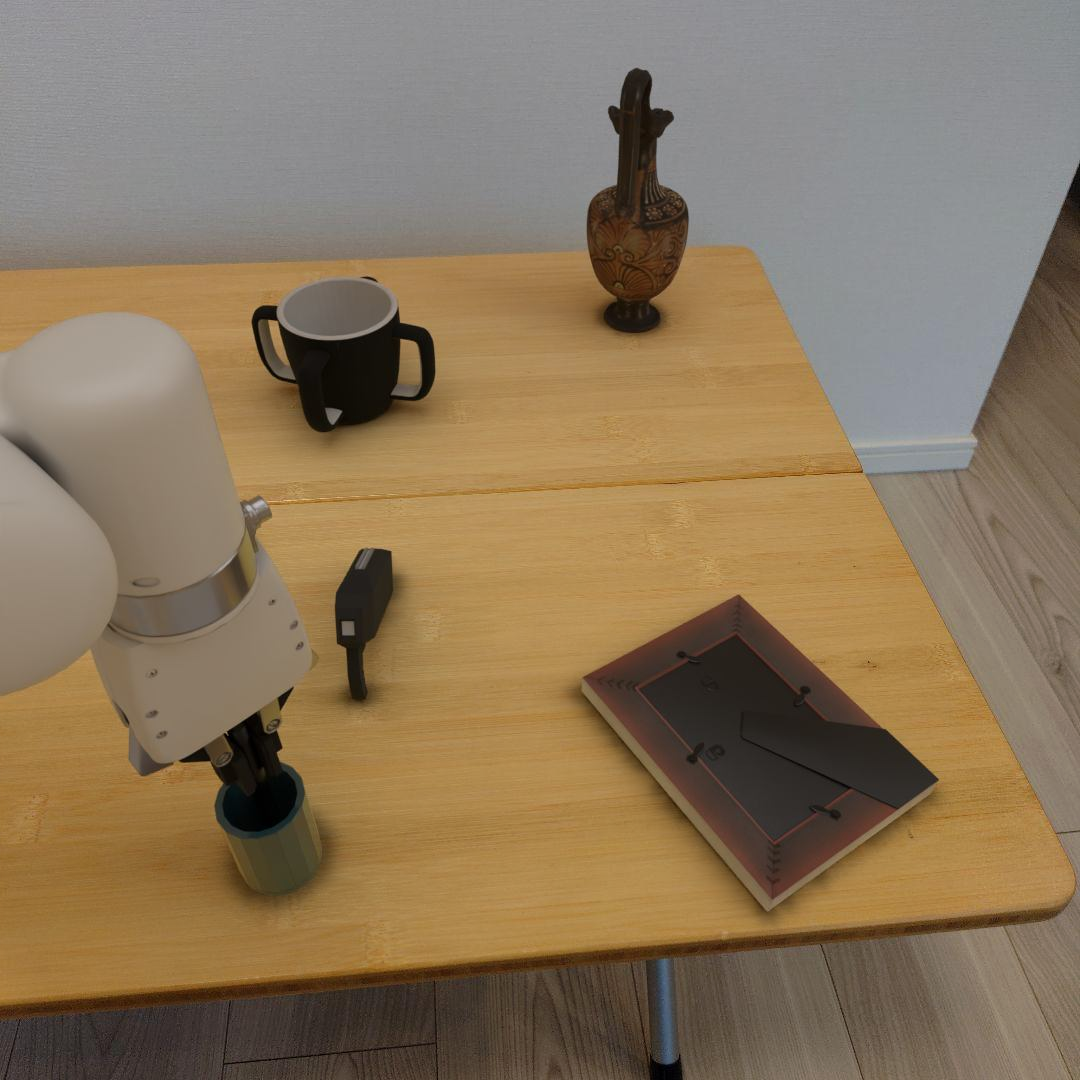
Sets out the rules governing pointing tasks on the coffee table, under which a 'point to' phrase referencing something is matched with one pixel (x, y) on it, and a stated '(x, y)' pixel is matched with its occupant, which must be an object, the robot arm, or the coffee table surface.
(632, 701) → the picture frame
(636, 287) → the vase
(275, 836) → the pen cup
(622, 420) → the coffee table surface
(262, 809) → the stylus
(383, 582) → the gun
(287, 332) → the mug
